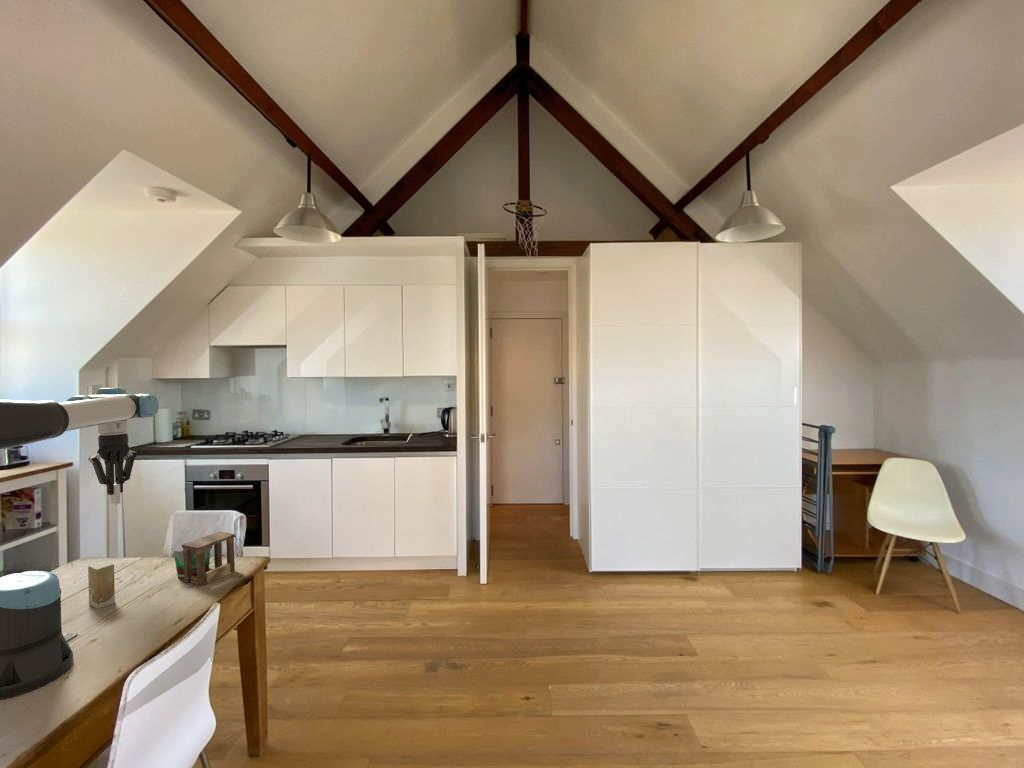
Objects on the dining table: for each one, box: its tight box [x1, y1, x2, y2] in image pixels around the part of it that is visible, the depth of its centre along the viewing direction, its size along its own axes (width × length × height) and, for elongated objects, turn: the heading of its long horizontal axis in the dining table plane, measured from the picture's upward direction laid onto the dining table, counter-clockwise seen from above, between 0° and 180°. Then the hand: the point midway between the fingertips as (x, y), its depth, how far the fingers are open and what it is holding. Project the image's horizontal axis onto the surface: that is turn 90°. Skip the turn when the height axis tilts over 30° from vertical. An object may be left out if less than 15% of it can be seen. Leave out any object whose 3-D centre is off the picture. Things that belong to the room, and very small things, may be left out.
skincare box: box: [87, 560, 116, 610], centre depth 136 cm, size 6×4×12 cm
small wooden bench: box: [181, 531, 236, 587], centre depth 154 cm, size 13×8×13 cm, turn 159°
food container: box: [172, 545, 214, 580], centre depth 155 cm, size 12×6×10 cm, turn 156°
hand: (115, 503), depth 150 cm, fingers closed
